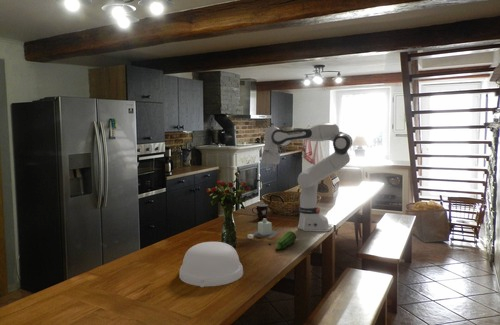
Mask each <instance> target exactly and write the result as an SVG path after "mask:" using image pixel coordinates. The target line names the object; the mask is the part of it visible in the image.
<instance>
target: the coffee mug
mask: <svg viewBox="0 0 500 325" xmlns="http://www.w3.org/2000/svg"><path fill="white" fill-rule="evenodd" d="M268 208H269V205H268V204H266V203H259V204H256V207H253V208H252V209H251V211H252V213H253V214H254V215H257V219H258V220H260V221H263V218H266V219H268ZM254 209H255V210H256V212H255V211H254Z"/></svg>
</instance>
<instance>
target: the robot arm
mask: <svg viewBox="0 0 500 325" xmlns="http://www.w3.org/2000/svg"><path fill="white" fill-rule="evenodd" d="M296 140H297V141H298V140H304V141H305V140H306V141H310V142H325V141H332V146H333V149H334V152H333V153H331V154H329V155H328V156H327V157H325V158H323V159H322V160H320V161H319V162H317V163H315V164H313V165H311V166H310V167H308V168H306V169H304V170H303V171H301V172H300V173H299V174H298V176H297V184H298V185H299V187H301V189H300V190H301V191H300V194H299V210H298V212H299V220H298V225H297V228H298V229H299V230H302V231H304V232H320V233H321V232H326V233H327V232H329V231H331V230H332V229H333V228H332V227H333V226H332V225H330V224H329V220H328V218H327V217H326V216H325V215H323V214H322V213H321V210H320V209H321V208H320V207H318V199H317V198H318V188H319V182H321V181H323V180H325V179H326V178H328V177H330V176H331V175H333V174H335V173H336V172H338V171H340V170H342V169H343V168H344V167H345V166H346V165H348V164H349V162H350V160H351V158H350V154H349V153H348V151H349V150H350V148H351V147H352V146H353V138H352V137H351V136H350V135H349V134H348V133H345V132H343V131H340V128H339V126H338V124H337V123H318V124H314V125H311V126H308V127H304V128H300V129H293V130H284V129H280V128H279V127H278V126H275V125H273V126H268V127H266V128H265V130H264V150H263V152H262V154H261V163H262V164H264V166H265V171H266V172H267V171H270V167H269V165H272V166H273V167H272V171H273V172H276V168H277V165H279V164H280V162H281V150H280V149H279V148H278V146H288V145H289V144H290V143H291V142H292V141H296Z"/></svg>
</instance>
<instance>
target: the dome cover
mask: <svg viewBox="0 0 500 325" xmlns="http://www.w3.org/2000/svg"><path fill="white" fill-rule="evenodd" d="M243 275H244V267H243V265H242V263H241V262H240V258H239V254H238V252H237V250H236V249H235V248H234V247H233V246H232V245H230V244H228V243H226V242H222V241H221V242H220V241H205V242H204V241H203V242H200V243H197V244H194V245H193V246H191V247H190V248H189V249H187V250H186V252H185V254H184V256H183V260H182V265H181V266H180V269H179V279H180V280H181V281H182V282H184V283H186V284H189V285H192V286H197V287H199V288H204V287H216V286H222V285H228V284H230V283H233V282H236V281H238V280H239V279H240V278H242V277H243Z"/></svg>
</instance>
